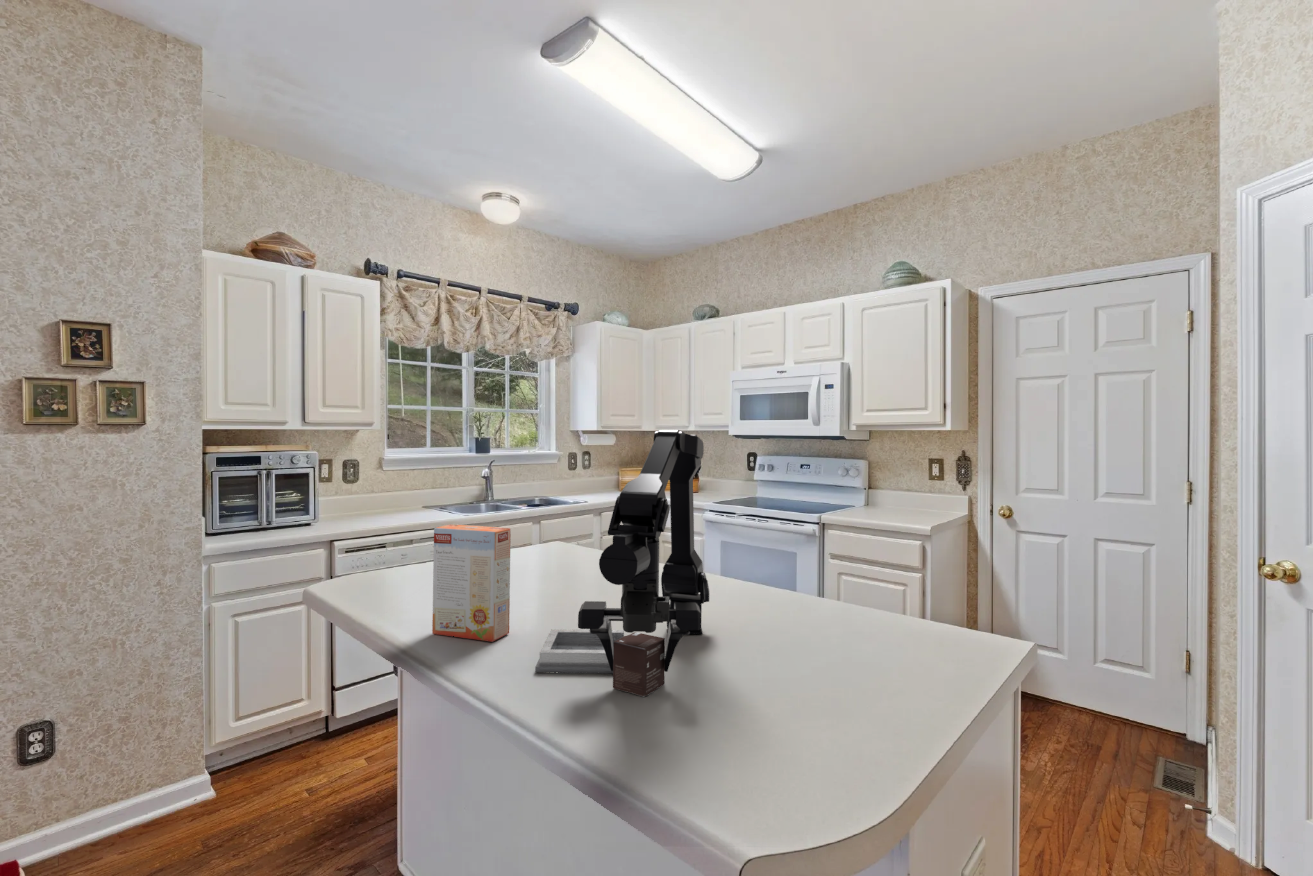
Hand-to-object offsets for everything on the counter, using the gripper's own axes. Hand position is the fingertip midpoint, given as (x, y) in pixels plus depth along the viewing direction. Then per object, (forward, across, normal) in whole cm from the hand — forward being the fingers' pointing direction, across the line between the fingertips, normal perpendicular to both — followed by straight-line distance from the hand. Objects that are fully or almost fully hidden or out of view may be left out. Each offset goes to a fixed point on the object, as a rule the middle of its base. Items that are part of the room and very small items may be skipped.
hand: (639, 670), depth 93 cm
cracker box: (+3, -33, +24) cm, 41 cm away
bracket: (+2, -10, +12) cm, 16 cm away
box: (+3, 0, 0) cm, 3 cm away
